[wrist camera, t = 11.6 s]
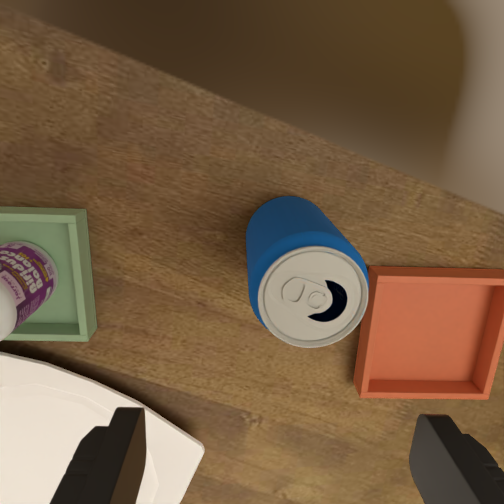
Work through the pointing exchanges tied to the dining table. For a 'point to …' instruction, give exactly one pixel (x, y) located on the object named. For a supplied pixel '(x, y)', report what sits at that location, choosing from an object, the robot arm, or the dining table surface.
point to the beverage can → (303, 274)
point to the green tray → (69, 271)
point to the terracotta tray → (430, 333)
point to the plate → (76, 433)
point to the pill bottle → (23, 283)
